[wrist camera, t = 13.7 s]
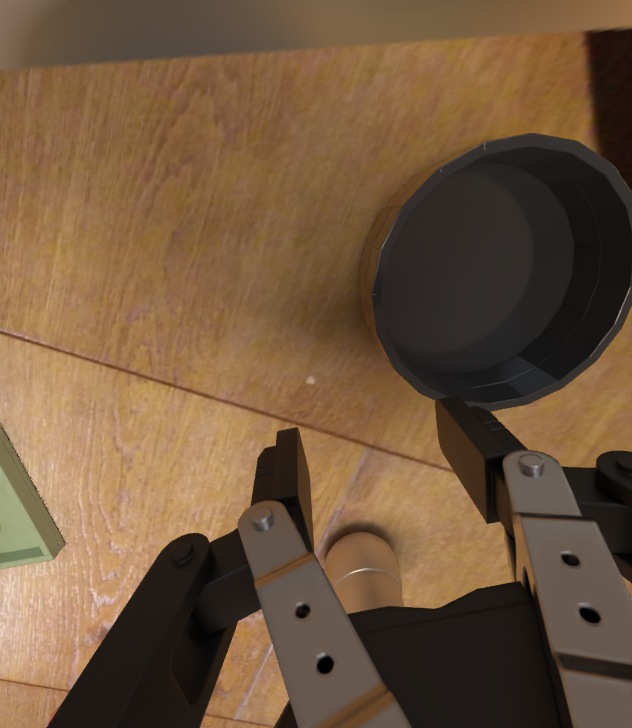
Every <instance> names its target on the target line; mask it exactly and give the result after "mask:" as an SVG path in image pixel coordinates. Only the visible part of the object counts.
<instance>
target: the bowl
mask: <svg viewBox="0 0 632 728" xmlns="http://www.w3.org/2000/svg"><path fill="white" fill-rule="evenodd" d="M359 294H360V301H361V306H362V310H363V315H364V318H365V320H366V322H367V324H368V326H369V328H370V330H371V332H372V334H373V336H374V338H375V340H376V342H377V344H378V345H379V347H380V348H381V350H382V351H383V353H384V354H385V356H386V358H387V359H388V361H389V362H390V364H391V365H392V367H393V368H394V370H395V371H397V372H398V373H399V374H400V375H401V376H402V377H403V378H404V379H405V380H406V381H407V382H408V383H409V384H410V385H411V386H412V387H413V388H414V389H415V390H417V391H418V392H419V393H420V394H422V395H424V396H426V397H429V398H431V399H433V400H435V401H436V399H440V398H445V397H450V396H455V395H458V396H459V397H460V398H461V399H462V400H463V401H464V402H465V403H466V404H467V405H468V406H469V407H472V406H478V407H481V408H483V409H485V410H487V411H495V410H501V409H506V408H512V407H517V406H523V405H527V404H530V403H532V402H534V401H536V400H538V399H540V398H543V397H545V396H547V395H549V394H551V393H553V392H555V391H558V390H560V389H562V388H563V387H565V386H566V385H567V384H569V383H570V382H571V381H572V380H573V379H575V378H576V377H577V376H578V375H580V374H581V373H582V372H583V371H585V370H586V369H587V368H588V367H590V366H591V365H592V364H593V363H595V362H596V361H597V360H598V358H599V357H600V356H601V354H602V353H603V352H604V351H605V349H606V348H607V347H608V345H609V344H610V343H611V341H612V340H613V339H614V338H615V336H616V335H617V334H618V332H619V331H620V330H621V328H622V326H623V325H624V322H625V320H626V318H627V315H628V313H629V311H630V308H631V306H632V192H631V190H630V189H629V187H628V186H627V184H626V183H625V181H624V180H623V178H622V177H621V175H620V173H619V172H618V170H617V169H616V167H615V166H614V165H613V164H612V163H610V162H609V161H607V160H606V159H604V158H603V157H601V156H600V155H598V154H597V153H595V152H594V151H592V150H591V149H589V148H588V147H586V146H585V145H583V144H582V143H580V142H578V141H576V140H570V139H564V138H559V137H553V136H547V135H542V134H536V133H528V134H523V135H517V136H512V137H507V138H502V139H497V140H492V141H487V142H483V143H481V144H478V145H476V146H474V147H471V148H469V149H466V150H464V151H462V152H459V153H457V154H455V155H452V156H450V157H447V158H445V159H444V160H442V161H440V162H438V163H437V164H435V165H433V166H431V167H429V168H427V169H426V170H424V171H422V172H421V173H419V174H417V175H416V176H414V177H412V178H411V179H410V180H409V181H408V182H407V183H406V184H404V185H403V186H402V187H401V188H400V189H399V190H398V191H397V192H396V193H395V194H394V195H393V196H392V198H391V199H390V200H389V201H388V203H387V204H386V205H385V207H384V208H383V209H382V211H381V212H380V214H379V216H378V217H377V219H376V220H375V222H374V224H373V226H372V228H371V230H370V233H369V235H368V237H367V240H366V243H365V246H364V249H363V252H362V257H361V263H360V269H359Z"/></svg>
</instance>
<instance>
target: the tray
mask: <svg viewBox="0 0 632 728" xmlns="http://www.w3.org/2000/svg"><path fill="white" fill-rule="evenodd" d="M0 527H1V530H0V569H4V568H10V567H16V566H21V565H27V564H33V563H38V562H44V561H50V560H54V559H55V557H56V556H57V555H58V553H59V552H60V550H61V549H62V548H63V546H64V545H65V542H64V541H63V539H62V537H61V535H60V533H59V531H58V530H57V528H56V526H55V524H54V522H53V520H52V519H51V517H50V515H49V513H48V511H47V510H46V508H45V506H44V504H43V502H42V500H41V499H40V497H39V495H38V493H37V491H36V489H35V488H34V486H33V484H32V482H31V480H30V479H29V477H28V475H27V473H26V471H25V469H24V468H23V466H22V464H21V462H20V460H19V458H18V457H17V455H16V453H15V451H14V449H13V448H12V446H11V444H10V442H9V440H8V438H7V437H6V435H5V433H4V431H3V429H2V428H1V426H0Z"/></svg>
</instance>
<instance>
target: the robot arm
mask: <svg viewBox="0 0 632 728" xmlns="http://www.w3.org/2000/svg"><path fill="white" fill-rule="evenodd" d="M435 409H436V419H437V430H438V439H439V444H440V447H441V450H442V452H443V454H444V456H445V458H446V459H447V461H448V462H449V464H450V466H451V467H452V469H453V470H454V472H455V473H456V475H457V477H458V478H459V480H460V481H461V483H462V485H463V486H464V488H465V489H466V491H467V493H468V494H469V496H470V497H471V499H472V500H473V502H474V504H475V505H476V507H477V508H478V510H479V512H480V513H481V515H482V516H483V518H484V519H485V521H486V523H487V524H489V523H495V522H501V523H502V525H503V526H504V539H505V545H506V550H507V556H508V561H509V567H510V572H511V578H512V582H511V583H506V584H501V585H496V586H490V587H485V588H480V589H476V590H474V591H472V592H470V593H468V594H466V595H464V596H462V597H460V598H458V599H456V600H454V601H452V602H450V603H448V604H446V605H444V606H442V607H440V608H436V609H429V608H413V607H398V606H386V607H381V608H375V609H370V610H365V611H360V612H354V613H349V614H347V613H346V611H345V610H344V608H343V606H342V604H341V602H340V600H339V598H338V597H337V595H336V593H335V591H334V589H333V587H332V585H331V583H330V582H329V580H328V578H327V576H326V574H325V572H324V570H323V569H322V567H321V565H320V563H319V561H318V559H317V557H316V556H315V554H314V539H313V522H312V505H311V489H310V476H309V470H308V465H307V461H306V457H305V453H304V449H303V445H302V441H301V437H300V433H299V430H298V427H296V428H291V429H286V430H281V431H277V439H276V446H272V447H267V448H265V449H264V450H263V451H262V453H261V454H260V456H259V457H258V461H257V467H256V468H257V470H256V474H255V481H254V487H253V494H252V500H251V507H249V508H248V509H247V510H246V511H245V512H244V513H243V514H242V515H241V517H240V519H239V521H238V528H237V529H235V530H234V531H232V532H231V533H229V534H227V535H225V536H223V537H220V538H218V539H216V540H214V541H212V542H210V543H209V541H208V539H207V537H206V536H204V535H203V534H199V533H190V534H186V535H183V536H181V537H178V538H177V539H175V540H173V541H172V542H170V543H169V544H168V545H167V546H166V547H165V548H164V549H163V550H162V551H161V553H160V554H159V555H158V557H157V558H156V560H155V561H154V563H153V565H152V566H151V568H150V569H149V571H148V572H147V574H146V575H145V577H144V578H143V580H142V581H141V583H140V585H139V586H138V588H137V589H136V591H135V592H134V594H133V595H132V597H131V598H130V600H129V601H128V603H127V604H126V606H125V608H124V609H123V611H122V612H121V614H120V615H119V617H118V618H117V620H116V621H115V623H114V624H113V626H112V627H111V629H110V631H109V632H108V634H107V635H106V637H105V638H104V640H103V641H102V643H101V644H100V646H99V647H98V649H97V650H96V652H95V654H94V655H93V657H92V658H91V660H90V661H89V663H88V664H87V666H86V667H85V669H84V670H83V672H82V673H81V675H80V677H79V678H78V680H77V681H76V683H75V684H74V686H73V687H72V689H71V690H70V692H69V693H68V695H67V696H66V698H65V700H64V701H63V703H62V704H61V706H60V707H59V709H58V710H57V712H56V713H55V715H54V716H53V718H52V719H51V721H50V723H49V724H48V726H47V727H46V728H200V725H201V723H202V720H203V717H204V714H205V712H206V709H207V706H208V703H209V701H210V698H211V695H212V692H213V690H214V687H215V684H216V681H217V679H218V676H219V673H220V670H221V668H222V665H223V662H224V659H225V657H226V654H227V651H228V648H229V646H230V643H231V640H232V637H233V634H234V632H235V629H236V626H237V622H238V621H239V620H241V619H243V618H245V617H247V616H249V615H250V614H252V613H254V612H256V611H258V610H260V609H262V611H263V615H264V618H265V621H266V624H267V628H268V631H269V634H270V637H271V641H272V644H273V647H274V650H275V654H276V657H277V660H278V663H279V667H280V670H281V673H282V676H283V680H284V683H285V686H286V689H287V693H288V696H289V701H288V703H287V704H286V706H285V708H284V710H283V712H282V714H281V715H280V717H279V719H278V721H277V723H276V725H275V726H274V728H632V598H631V595H630V593H629V591H628V589H627V587H626V585H625V583H624V580H623V578H622V576H623V577H624V578H626V579H627V580H628V581H630V582H631V583H632V452H629V451H610V452H606V453H603V454H601V455H600V456H599V457H598V458H597V461H596V468H579V467H562V466H561V465H560V464H559V462H558V461H557V460H556V459H554V458H553V457H551V456H550V455H547V454H545V453H542V452H539V451H533V450H528V449H527V448H526V447H525V446H524V445H523V444H522V443H521V442H520V441H519V440H518V439H517V438H516V437H515V436H514V435H513V434H512V433H511V432H510V431H509V430H508V429H507V428H506V429H505V426H504V425H503V424H502V423H501V422H498V419H497V418H496V417H495V416H494V415H493V414H492V413H491V412H489V411H487V410H485V409H483V408H481V407H478V406H472V407H469V406H468V405H467V404H466V403H465V402H464V401H463V400H462V399H461V398H460V397H459V396H458V395H455V396H450V397H445V398H440V399H436V401H435ZM621 575H622V576H621Z"/></svg>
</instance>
